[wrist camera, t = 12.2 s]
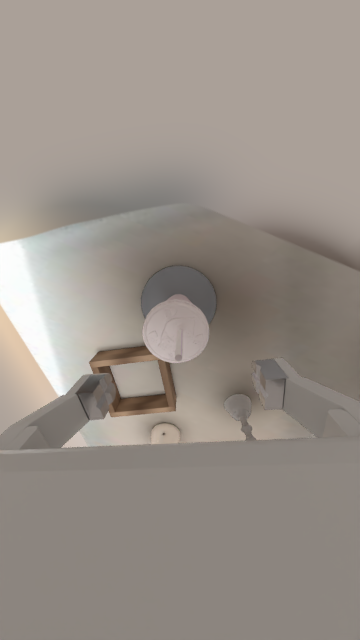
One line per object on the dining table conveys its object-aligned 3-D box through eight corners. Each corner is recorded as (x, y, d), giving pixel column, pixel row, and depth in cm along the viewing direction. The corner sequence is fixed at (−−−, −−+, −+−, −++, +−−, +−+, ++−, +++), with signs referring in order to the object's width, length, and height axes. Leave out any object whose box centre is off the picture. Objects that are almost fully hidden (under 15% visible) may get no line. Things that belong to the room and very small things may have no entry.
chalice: (217, 417, 33) (252, 583, 16) (218, 390, 31) (260, 552, 14) (255, 417, 33) (330, 585, 16) (259, 389, 31) (351, 553, 14)
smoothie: (209, 306, 25) (238, 363, 12) (178, 334, 26) (173, 411, 13) (178, 274, 23) (172, 298, 10) (147, 306, 25) (107, 361, 12)
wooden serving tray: (165, 343, 28) (162, 353, 25) (176, 397, 32) (175, 411, 29) (98, 351, 28) (88, 362, 26) (117, 403, 32) (111, 417, 30)
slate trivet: (212, 259, 23) (213, 259, 22) (218, 332, 27) (219, 334, 26) (134, 272, 24) (132, 272, 23) (150, 341, 28) (150, 342, 27)
